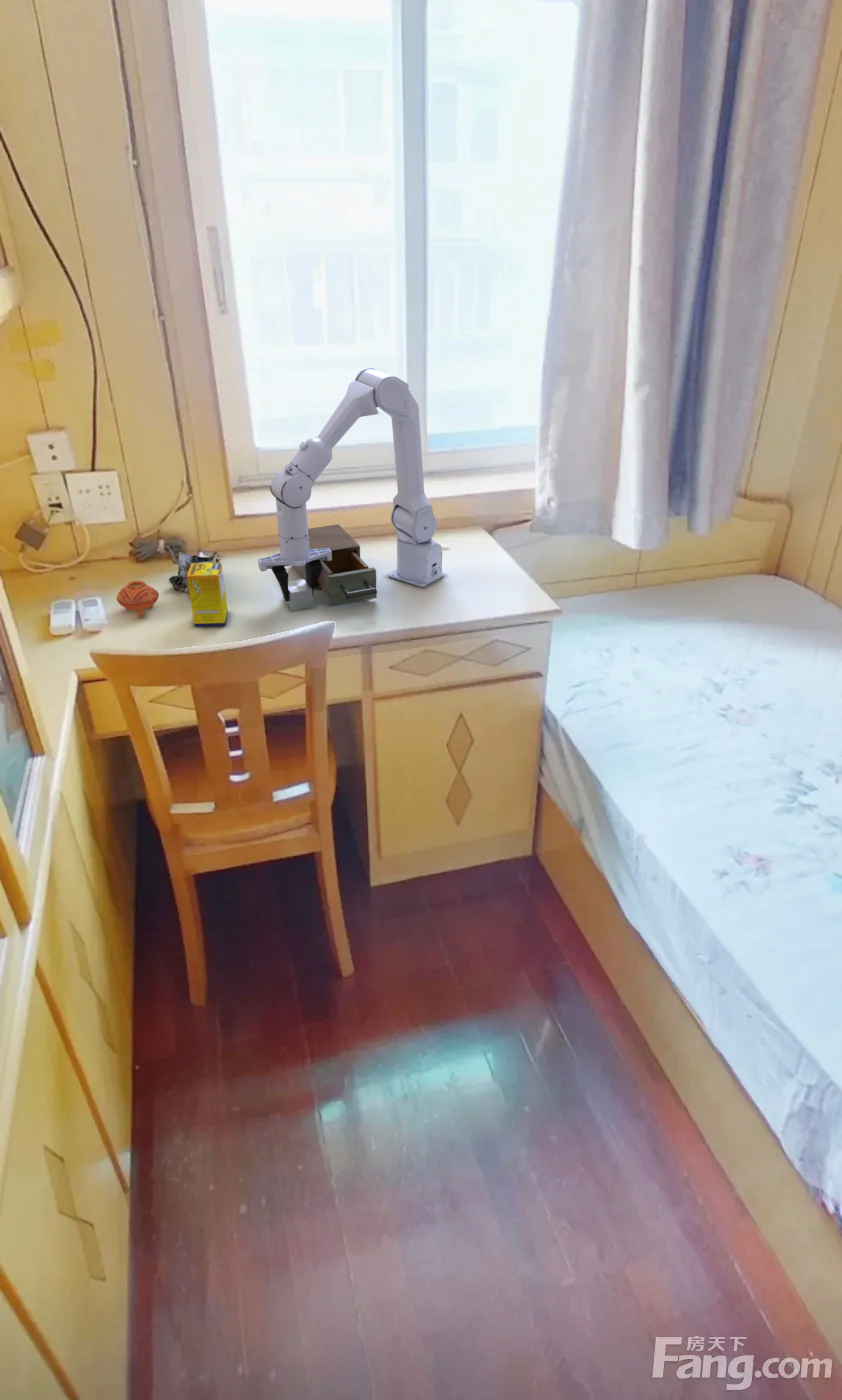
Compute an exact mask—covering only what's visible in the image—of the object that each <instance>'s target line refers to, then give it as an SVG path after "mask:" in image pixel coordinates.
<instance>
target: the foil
mask: <svg viewBox="0 0 842 1400" xmlns="http://www.w3.org/2000/svg"><path fill="white" fill-rule="evenodd" d="M216 556H217V557H216ZM221 560H222V558H221V557H220V555H219V552H217V551H214V552H213V553H212V554H211V555H210V556H200V555H199V556H198V555H196V554H194V555H191V554H190V553H186V552H182V551H179V552H178V560H177V561H178V571H177V575H173V576H170V577H169V578H168V582H169V584H170V586H172V588H173V590H174V591H175V592H177V591H183V592H182V594H185V595H187V596H189V597H190V594H189V588H188V581H187V573H188V571H189V568H190V565H191V564H192V563H221Z"/></svg>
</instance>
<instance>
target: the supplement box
mask: <svg viewBox="0 0 842 1400" xmlns="http://www.w3.org/2000/svg"><path fill="white" fill-rule="evenodd" d="M187 581H188V588H189V594H190V596H189V600H190V607H191V613H192V619H193V624H194V628H215V627H225V626H226V625H227V619H228V616H229V609H228V602H227V594H226V587H225V579H224V572H223V564H222V563H221V562H220V563H192V564H191V565H190V568H189V571H188V573H187Z"/></svg>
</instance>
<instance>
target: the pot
mask: <svg viewBox="0 0 842 1400" xmlns="http://www.w3.org/2000/svg"><path fill="white" fill-rule="evenodd" d="M159 595H160V594H159V591H157V589H155V588H154V587H152V586H151V585H149V584H146V582H145V581H142V580H134V581H129V582H127V584H126V585H125V586H124V587H122V589H120V590H119V592H118V593H117V595H116V601H117V603H118V604H119V605H120V606H122V607H123V608H124V609H125V611H127V612H128V611H133V612H135V613H136V615H137V617H138V619H143V613H144V611H145V610H148V609H153V607H154V605H155V604H156V602H157V601H158V599H159Z"/></svg>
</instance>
